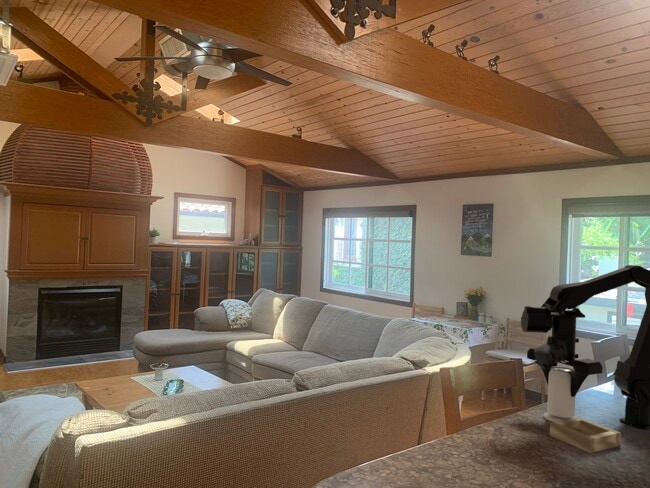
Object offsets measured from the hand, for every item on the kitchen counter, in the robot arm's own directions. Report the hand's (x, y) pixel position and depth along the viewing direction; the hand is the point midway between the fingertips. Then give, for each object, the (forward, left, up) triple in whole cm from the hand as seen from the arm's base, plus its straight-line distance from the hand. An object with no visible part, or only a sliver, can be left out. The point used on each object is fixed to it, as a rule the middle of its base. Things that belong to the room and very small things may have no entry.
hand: (561, 392), depth 130 cm
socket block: (+7, +12, -7) cm, 15 cm away
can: (0, 0, -6) cm, 6 cm away
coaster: (0, 0, -7) cm, 7 cm away
